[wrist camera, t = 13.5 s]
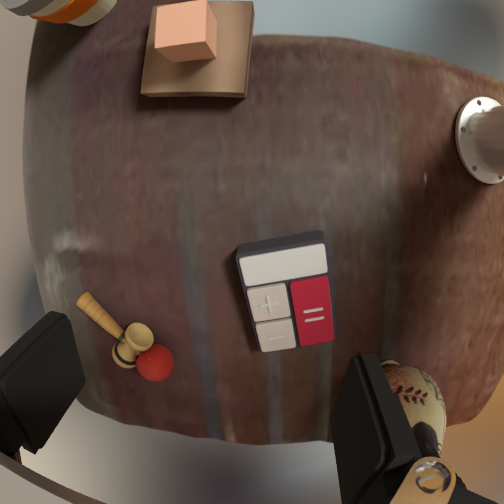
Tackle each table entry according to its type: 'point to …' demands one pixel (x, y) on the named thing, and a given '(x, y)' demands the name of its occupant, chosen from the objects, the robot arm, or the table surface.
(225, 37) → the base
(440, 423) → the ceramic jug
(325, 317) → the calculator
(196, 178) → the table surface
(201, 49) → the block
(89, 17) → the reusable coffee cup
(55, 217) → the table surface
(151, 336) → the kendama
